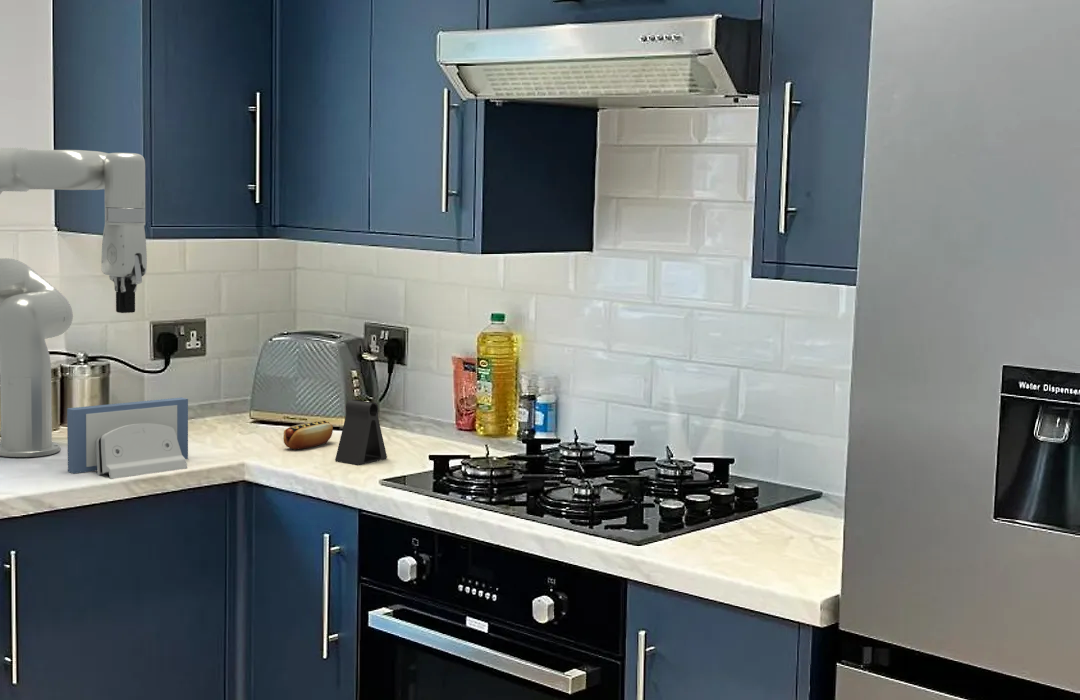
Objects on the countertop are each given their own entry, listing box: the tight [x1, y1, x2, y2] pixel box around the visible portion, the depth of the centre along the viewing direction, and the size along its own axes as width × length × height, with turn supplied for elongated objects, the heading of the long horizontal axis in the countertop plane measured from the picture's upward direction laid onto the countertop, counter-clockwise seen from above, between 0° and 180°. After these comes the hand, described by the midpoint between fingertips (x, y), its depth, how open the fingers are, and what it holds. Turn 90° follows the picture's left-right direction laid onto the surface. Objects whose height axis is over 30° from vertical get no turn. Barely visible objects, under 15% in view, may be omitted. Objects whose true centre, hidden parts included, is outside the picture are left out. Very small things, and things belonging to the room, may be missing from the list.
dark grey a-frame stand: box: [334, 398, 388, 466], centre depth 287 cm, size 9×6×12 cm, turn 146°
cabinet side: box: [66, 397, 189, 474], centre depth 276 cm, size 3×24×12 cm, turn 134°
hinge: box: [96, 423, 188, 480], centre depth 272 cm, size 17×5×10 cm, turn 135°
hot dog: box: [282, 420, 334, 450], centre depth 300 cm, size 5×13×5 cm, turn 150°
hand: (125, 312), depth 278 cm, fingers closed
